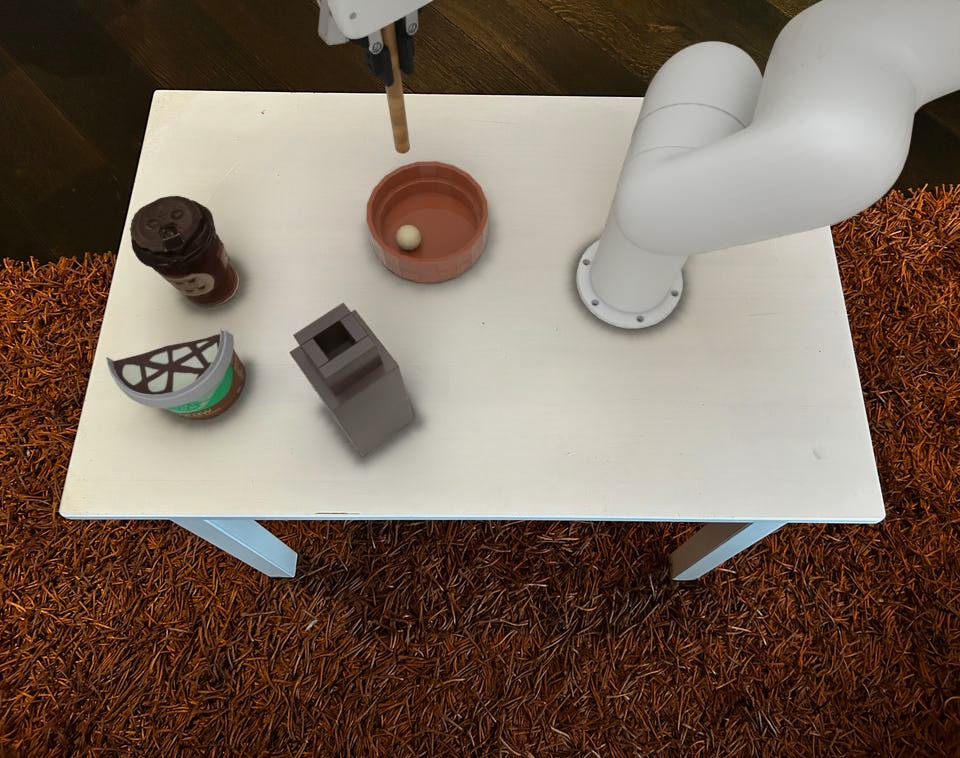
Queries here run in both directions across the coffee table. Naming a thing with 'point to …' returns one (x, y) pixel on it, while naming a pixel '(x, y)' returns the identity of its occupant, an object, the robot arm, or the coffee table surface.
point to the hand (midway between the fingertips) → (391, 70)
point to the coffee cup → (184, 249)
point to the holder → (354, 377)
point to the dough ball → (408, 237)
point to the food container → (184, 377)
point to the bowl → (429, 220)
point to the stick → (396, 93)
